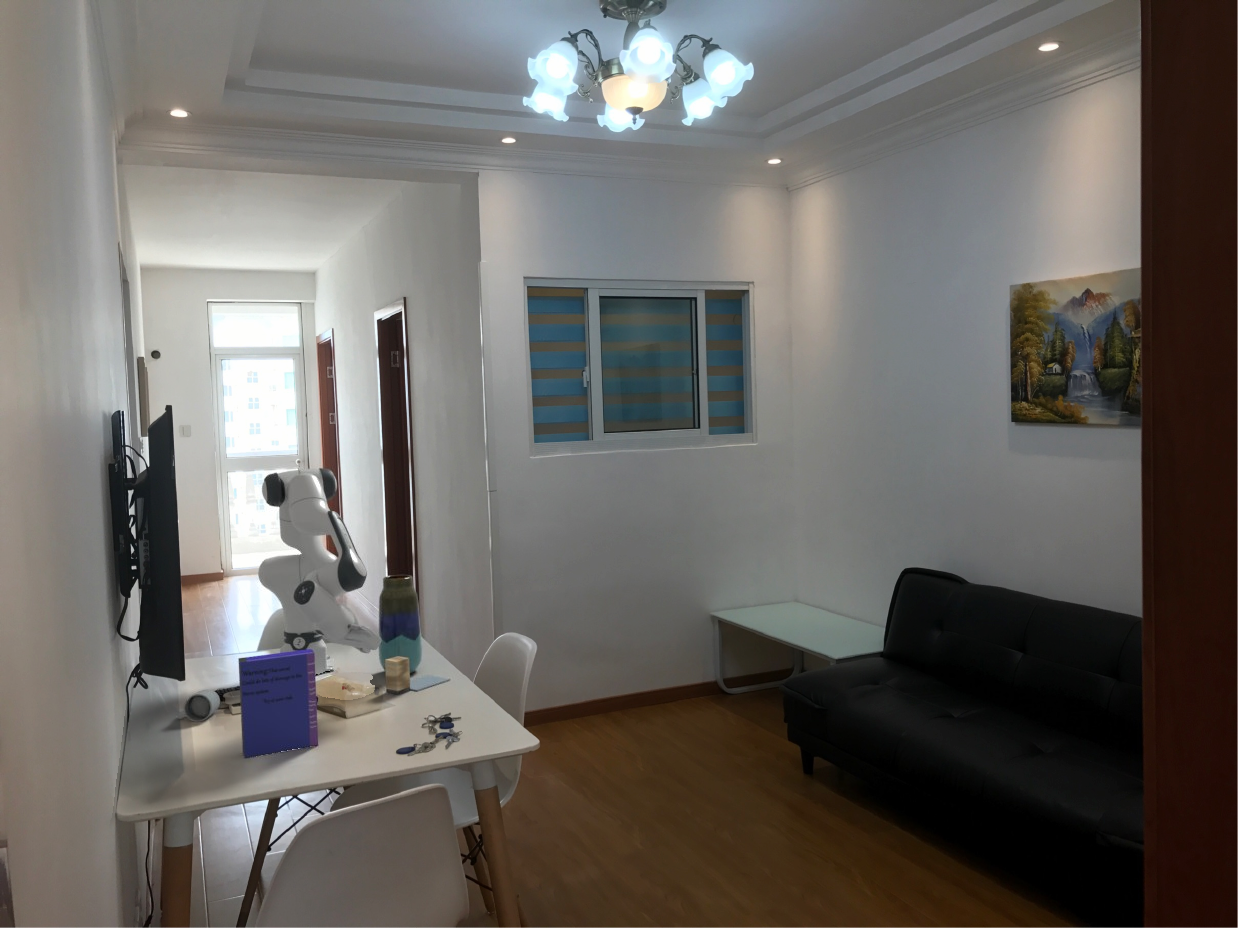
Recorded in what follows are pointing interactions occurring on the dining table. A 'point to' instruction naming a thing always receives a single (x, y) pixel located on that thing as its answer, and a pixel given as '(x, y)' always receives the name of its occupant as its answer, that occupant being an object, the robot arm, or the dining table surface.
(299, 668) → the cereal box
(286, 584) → the robot arm
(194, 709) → the ceramic mug
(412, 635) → the vase
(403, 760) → the dining table surface
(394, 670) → the oak block
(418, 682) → the rubber mat
